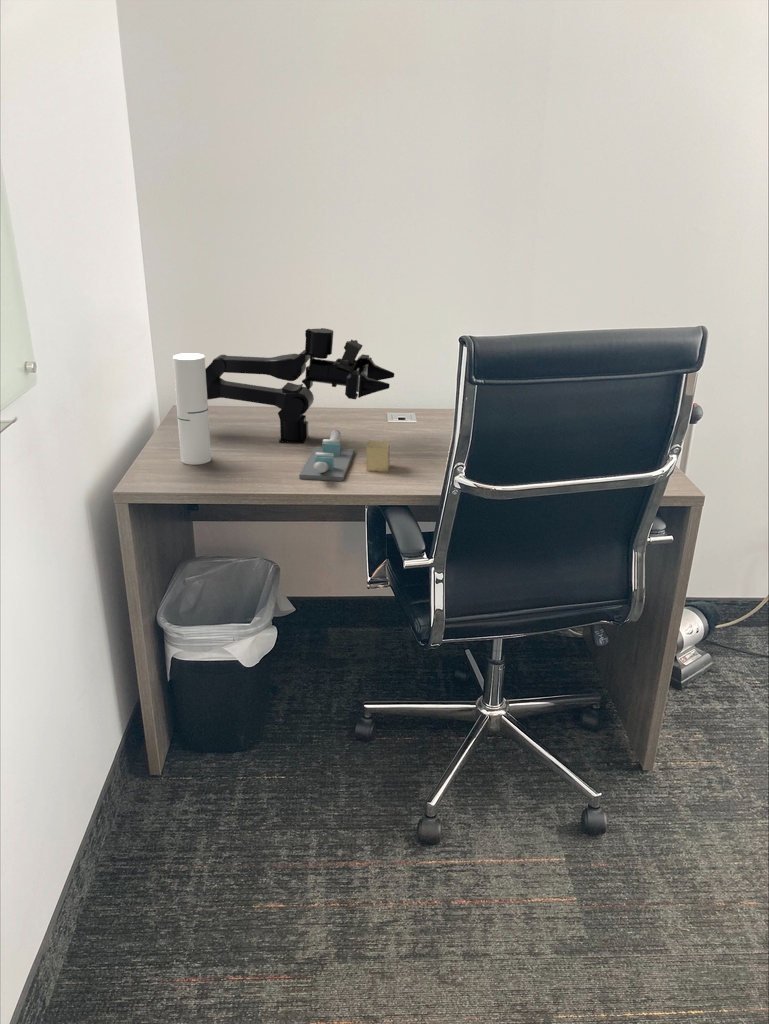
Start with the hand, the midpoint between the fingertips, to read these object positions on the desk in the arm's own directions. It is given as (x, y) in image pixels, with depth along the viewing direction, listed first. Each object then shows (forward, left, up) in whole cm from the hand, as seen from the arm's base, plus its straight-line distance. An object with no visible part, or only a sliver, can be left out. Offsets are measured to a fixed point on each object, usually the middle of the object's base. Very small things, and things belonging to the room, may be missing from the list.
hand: (391, 380), depth 201 cm
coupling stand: (-13, -17, -17) cm, 28 cm away
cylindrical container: (-45, -18, -17) cm, 52 cm away
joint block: (-1, -17, -17) cm, 24 cm away
